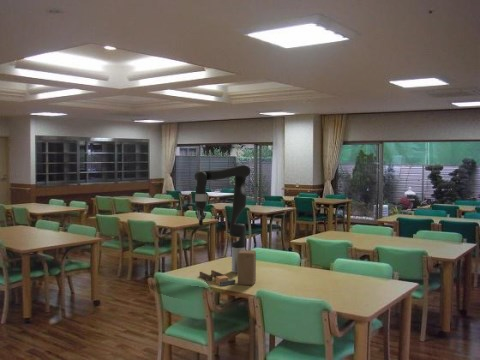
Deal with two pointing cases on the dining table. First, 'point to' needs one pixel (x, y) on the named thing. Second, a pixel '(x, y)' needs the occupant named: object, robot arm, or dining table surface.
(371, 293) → the dining table surface
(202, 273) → the walnut chute
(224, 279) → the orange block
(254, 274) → the wooden block
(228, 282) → the bar
